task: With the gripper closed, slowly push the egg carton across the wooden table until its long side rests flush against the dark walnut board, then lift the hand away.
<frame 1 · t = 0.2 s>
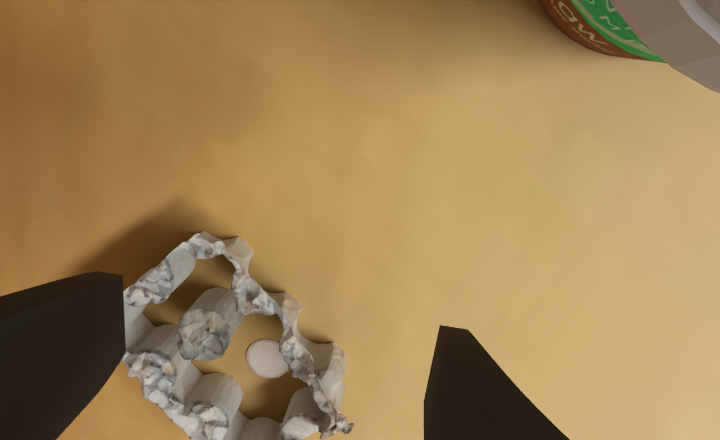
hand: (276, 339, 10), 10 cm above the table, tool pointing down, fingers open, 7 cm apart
egg carton: (245, 331, 22), on the table
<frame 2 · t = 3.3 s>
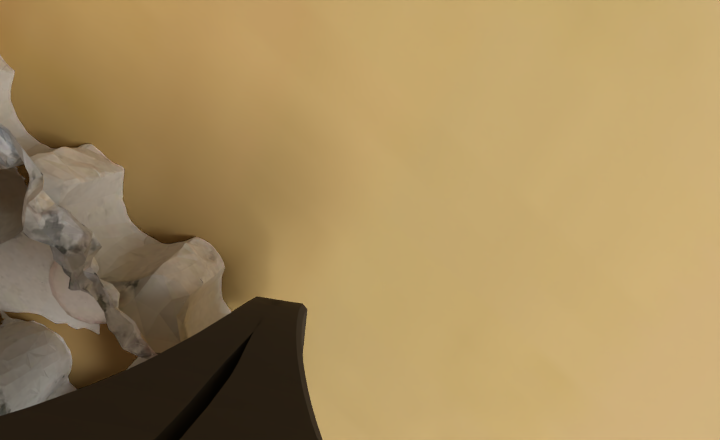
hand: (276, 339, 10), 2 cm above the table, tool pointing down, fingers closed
egg carton: (47, 242, 12), on the table, touching gripper
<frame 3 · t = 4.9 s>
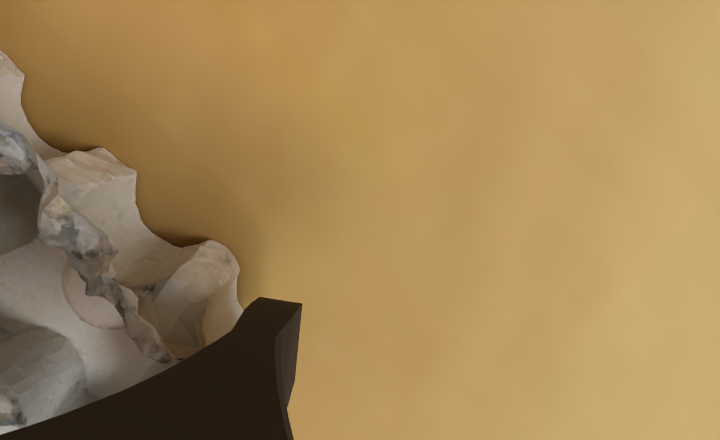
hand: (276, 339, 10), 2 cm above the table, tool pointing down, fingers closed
egg carton: (59, 248, 12), on the table, touching gripper, walnut board
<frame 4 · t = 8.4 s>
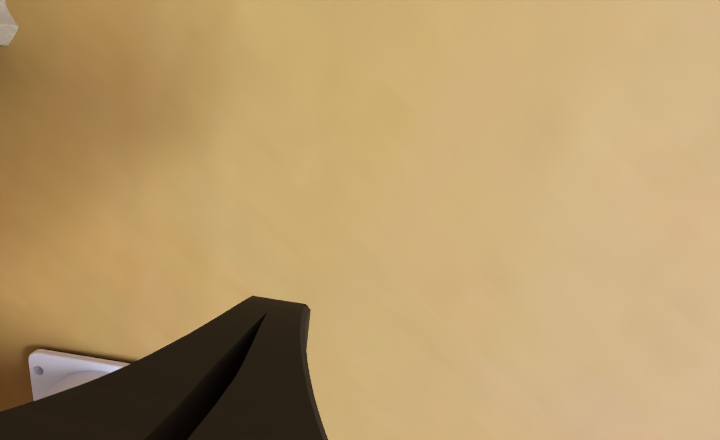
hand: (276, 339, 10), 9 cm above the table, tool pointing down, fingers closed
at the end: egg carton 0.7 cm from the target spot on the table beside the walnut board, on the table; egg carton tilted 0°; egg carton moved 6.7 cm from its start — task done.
